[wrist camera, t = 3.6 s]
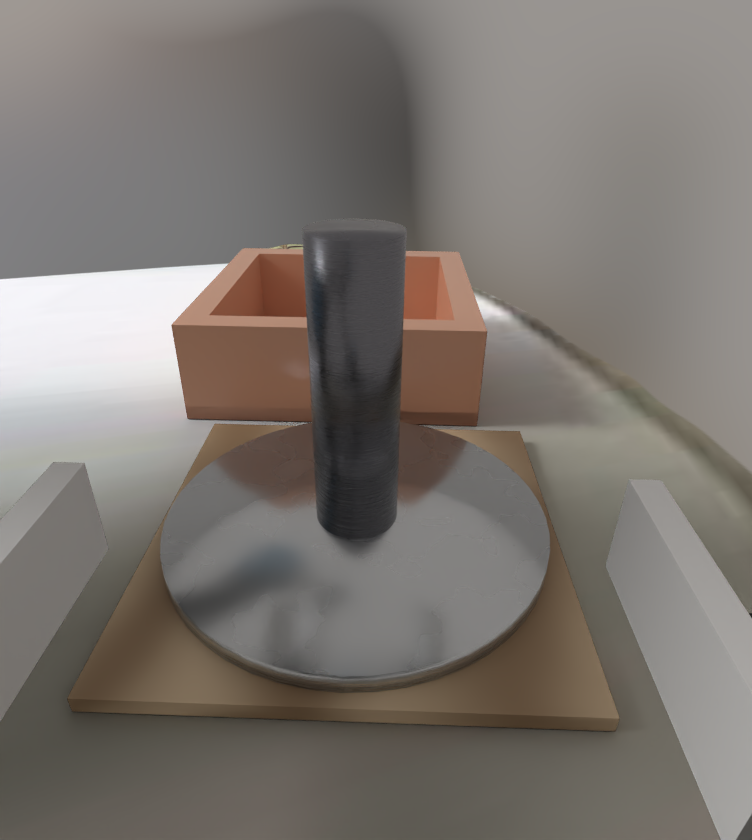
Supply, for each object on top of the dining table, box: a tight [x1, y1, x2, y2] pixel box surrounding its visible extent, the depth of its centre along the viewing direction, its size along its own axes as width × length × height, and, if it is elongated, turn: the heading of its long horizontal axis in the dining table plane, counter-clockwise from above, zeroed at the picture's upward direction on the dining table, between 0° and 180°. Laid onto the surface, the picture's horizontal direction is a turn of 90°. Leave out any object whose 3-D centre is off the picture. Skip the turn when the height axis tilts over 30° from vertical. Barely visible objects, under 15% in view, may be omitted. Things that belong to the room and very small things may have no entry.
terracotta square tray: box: [172, 248, 487, 426], centre depth 38 cm, size 16×16×6 cm
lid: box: [160, 219, 550, 693], centre depth 21 cm, size 15×15×12 cm
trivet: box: [67, 424, 620, 731], centre depth 24 cm, size 16×16×1 cm
